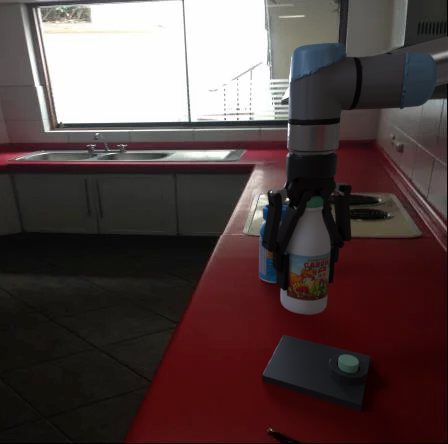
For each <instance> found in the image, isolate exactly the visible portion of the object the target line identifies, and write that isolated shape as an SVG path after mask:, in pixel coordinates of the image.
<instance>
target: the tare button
mask: <svg viewBox="0 0 448 444" xmlns="http://www.w3.org/2000/svg"><path fill="white" fill-rule="evenodd" d="M338 367H339V369H341V370H342V371H344V372H348V373H356V372H357V371H358V367H359V361H358V359H357V358H355V357H354V356H351V355H341V356H340V357H339V361H338Z"/></svg>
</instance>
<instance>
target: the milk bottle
mask: <svg viewBox="0 0 448 444" xmlns="http://www.w3.org/2000/svg"><path fill="white" fill-rule="evenodd" d="M323 202H324V200H323V199H322V198H321V197H320V196H312V197H311V200H310V201H308V202H307V203H306V207H308V208H306V209H305V211H304V214H303V216H302V217H300V218H299V220H298V223H297V225H296V227H295V230H294V232H293V234H292V237H291V239H290V241H289V244H288V246H287V248H286V252H287V253H288V254H289V276H288V290H285V291H284V290H282V289H281V288H280V304H281V306H283V308H284V309H286V310H288V311H289V312H292V313H295V314H299V315H316V314H321V313H322V312H323V311H325V310H326V308H327V305H328V294H329V293H328V292H329V283H328V282H329V268H330V249H331V246H330V237H329V234H328V231H327V229H326V226H325V224H324V221H323V217H322V209H323ZM320 206H321V207H320ZM313 207H316V208H313ZM294 208H295V209H297V208H296V207H294Z"/></svg>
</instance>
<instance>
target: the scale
mask: <svg viewBox="0 0 448 444" xmlns="http://www.w3.org/2000/svg"><path fill="white" fill-rule="evenodd" d="M341 355H351V356H354V357H355V358H357V359H358V361H359V367H358V371H357V372H356V373H348V372H344V371H342V370H341V369H339V367H338V361H339V357H340V356H341ZM371 357H372V356H371V355H367V354H363V353H359V352H355V351H350V350H346V349H343V348H338V347H334V346H330V345H327V344H322V343H319V342H314V341H310V340H305V339H302V338H297V337H293V336H290V335H285V334H283V335H282V337H281V339H280V340H279V342H278V345H277V346H276V348H275V350H274V352H273V354H272V355H271V358H270V360H269V361H268V363H267V365H266V367H265V369H264V371H263V373H262V374H261V382H263V383H266V384H269V385H273V386H276V387H280V388H282V389H286V390H289V391H292V392H295V393H298V394H302V395H305V396H307V397H312V398H314V399H317V400H322V401H324V402H328V403H330V404H334V405H338V406H340V407H344V408H346V409H347V408H348V409H350V410H354V411H357V412H362V408H363V402H364V397H365V392H366V385H367V380H368V374H369V369H370V363H371Z"/></svg>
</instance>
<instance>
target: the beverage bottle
mask: <svg viewBox="0 0 448 444" xmlns="http://www.w3.org/2000/svg"><path fill="white" fill-rule="evenodd" d="M268 206H269V203H268V204H265V205H264V206H263V207H262V220H263V223H262V224H261V226H260V228H259V231H258V232H259V235H260V236H259V238H258V247H259V248H258V249H259V250H258V252H259V253H258V277H259V279H260V280H261V281H263V282H266V283H269V284H276V274H277V271H276V270H275V269H274V268H273V266H272V264H273V252H269V251H268V250H267V249H265V248H264V247H263V246H262V240H263V234H264V229H265V223H266V217H267V212H268ZM286 206H287V204H283V209H282V215H281V220H280V225H281V222H282V220H283V218H284V215H285V213H286ZM280 225H279V227H280Z"/></svg>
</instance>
